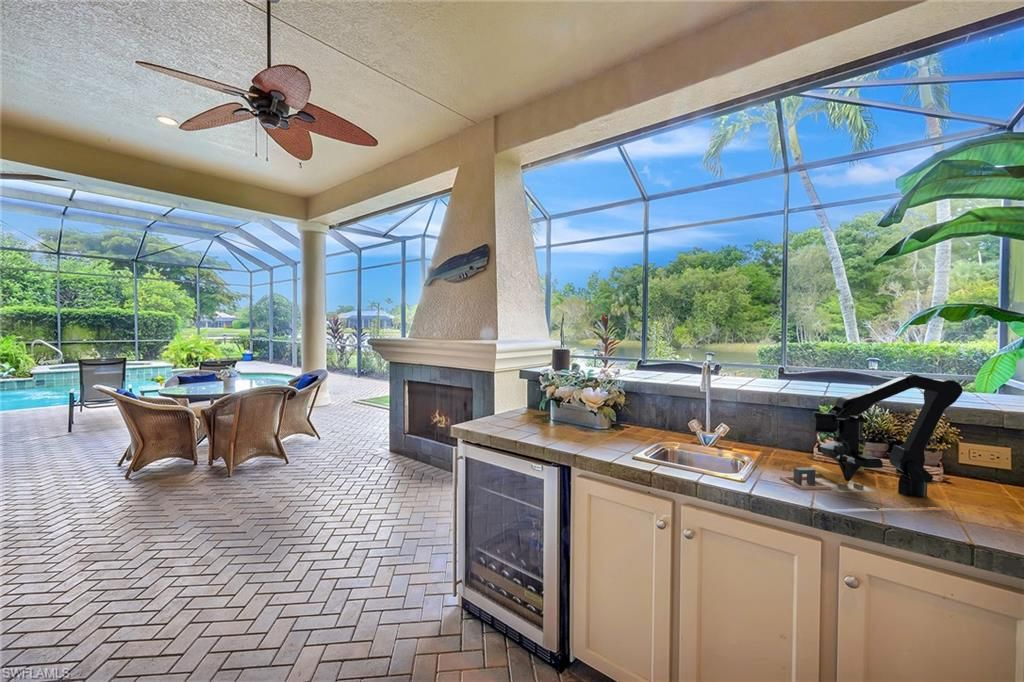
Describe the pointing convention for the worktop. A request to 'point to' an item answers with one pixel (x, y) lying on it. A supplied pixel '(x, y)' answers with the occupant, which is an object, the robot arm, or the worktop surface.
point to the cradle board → (842, 485)
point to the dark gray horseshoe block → (800, 471)
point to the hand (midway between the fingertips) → (847, 480)
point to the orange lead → (830, 474)
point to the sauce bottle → (861, 447)
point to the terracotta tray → (822, 486)
